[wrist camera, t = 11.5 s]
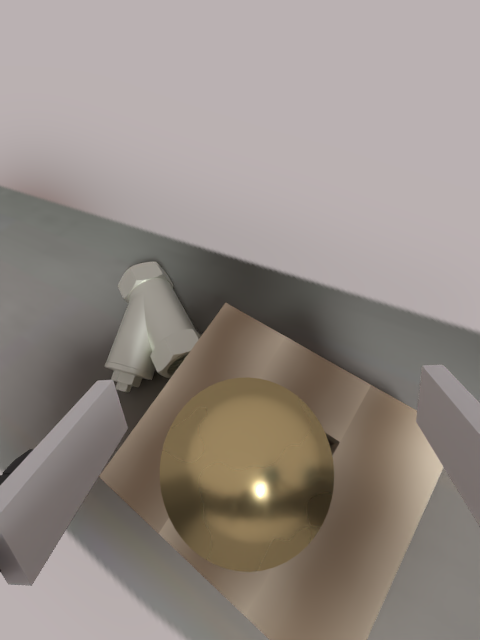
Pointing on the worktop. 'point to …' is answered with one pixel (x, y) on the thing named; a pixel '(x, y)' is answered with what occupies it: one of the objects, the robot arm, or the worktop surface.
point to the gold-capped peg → (246, 474)
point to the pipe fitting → (149, 328)
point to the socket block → (348, 493)
